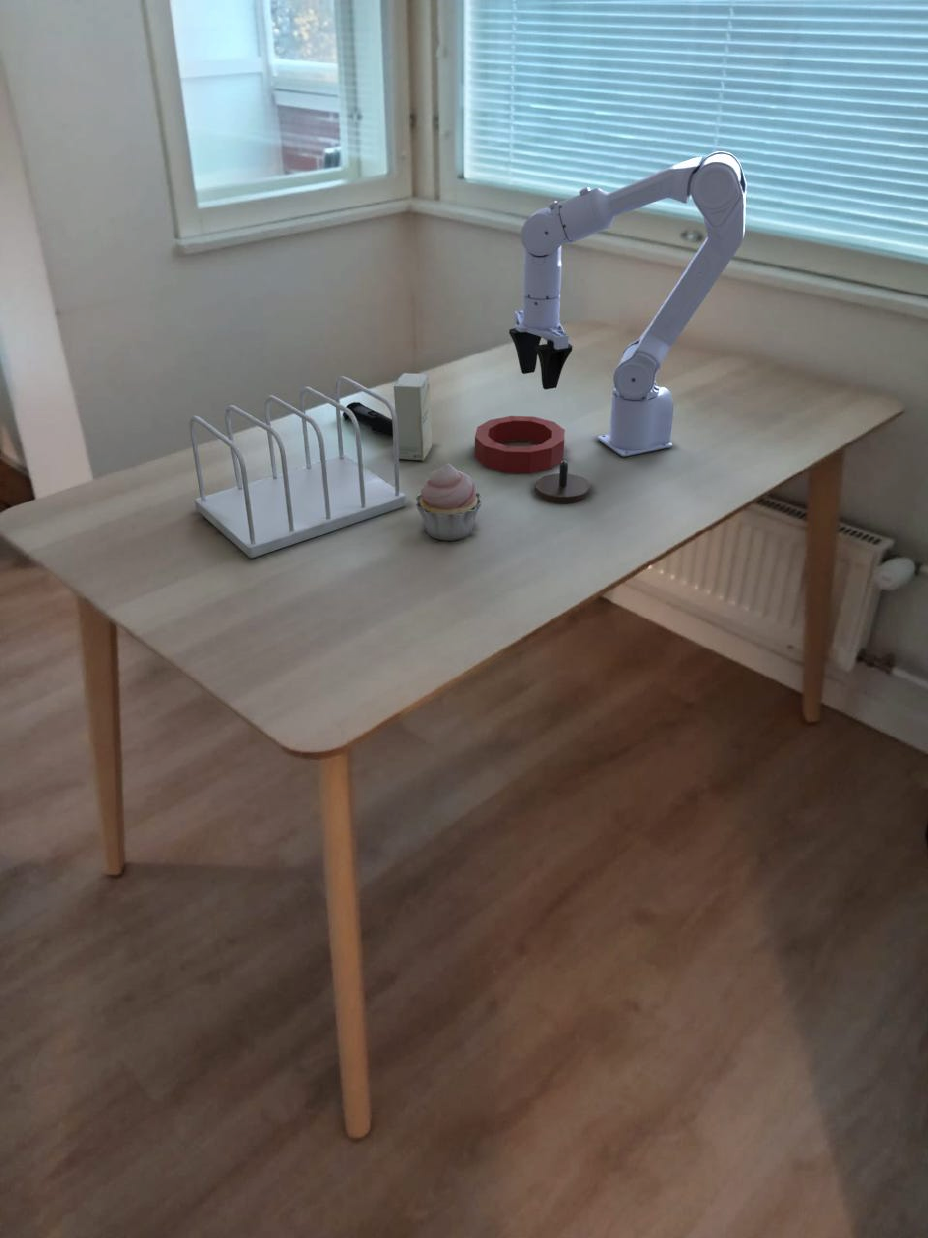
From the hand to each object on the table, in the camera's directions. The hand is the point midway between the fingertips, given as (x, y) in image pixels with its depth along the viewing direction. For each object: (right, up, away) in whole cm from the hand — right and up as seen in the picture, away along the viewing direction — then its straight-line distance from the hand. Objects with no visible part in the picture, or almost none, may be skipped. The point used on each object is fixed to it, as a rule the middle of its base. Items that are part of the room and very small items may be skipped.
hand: (538, 380), depth 153 cm
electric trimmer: (-27, -6, +8) cm, 29 cm away
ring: (-3, -12, -1) cm, 13 cm away
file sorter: (-35, -23, -16) cm, 45 cm away
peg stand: (+3, -19, -12) cm, 23 cm away
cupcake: (-14, -26, -21) cm, 37 cm away
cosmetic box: (-20, -12, 0) cm, 23 cm away
